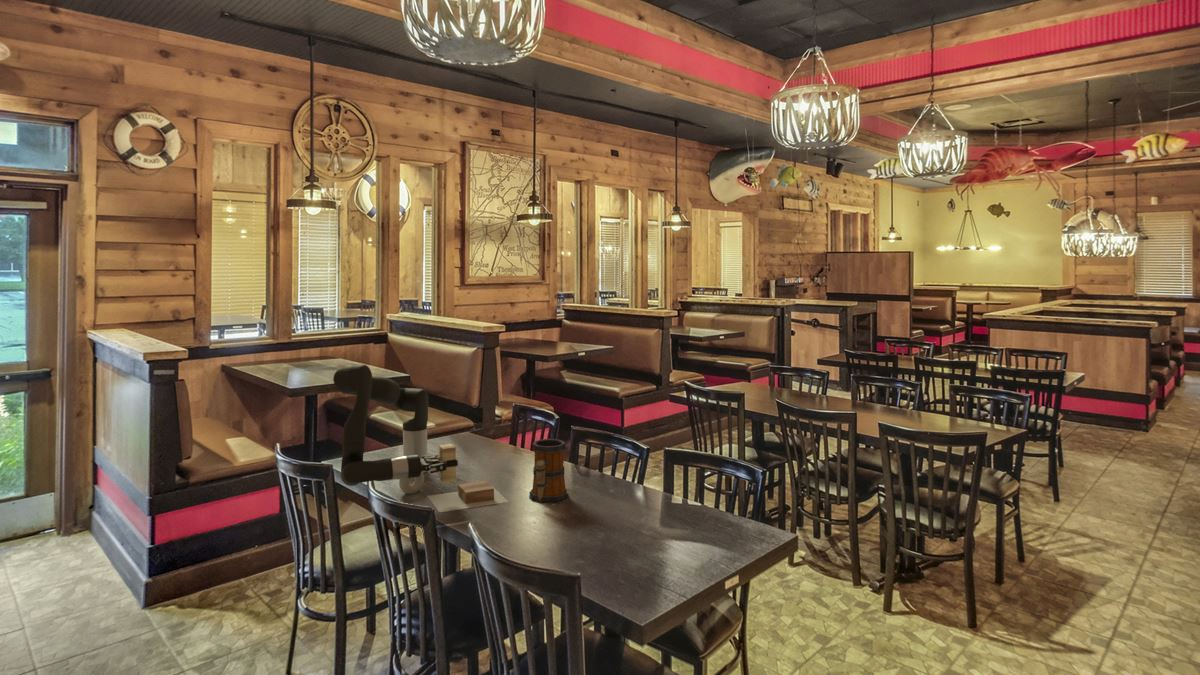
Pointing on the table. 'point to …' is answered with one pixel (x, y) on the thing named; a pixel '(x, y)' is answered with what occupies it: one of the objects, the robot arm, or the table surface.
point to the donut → (415, 486)
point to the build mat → (460, 501)
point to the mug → (548, 472)
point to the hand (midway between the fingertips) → (455, 460)
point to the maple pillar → (444, 455)
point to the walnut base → (475, 492)
